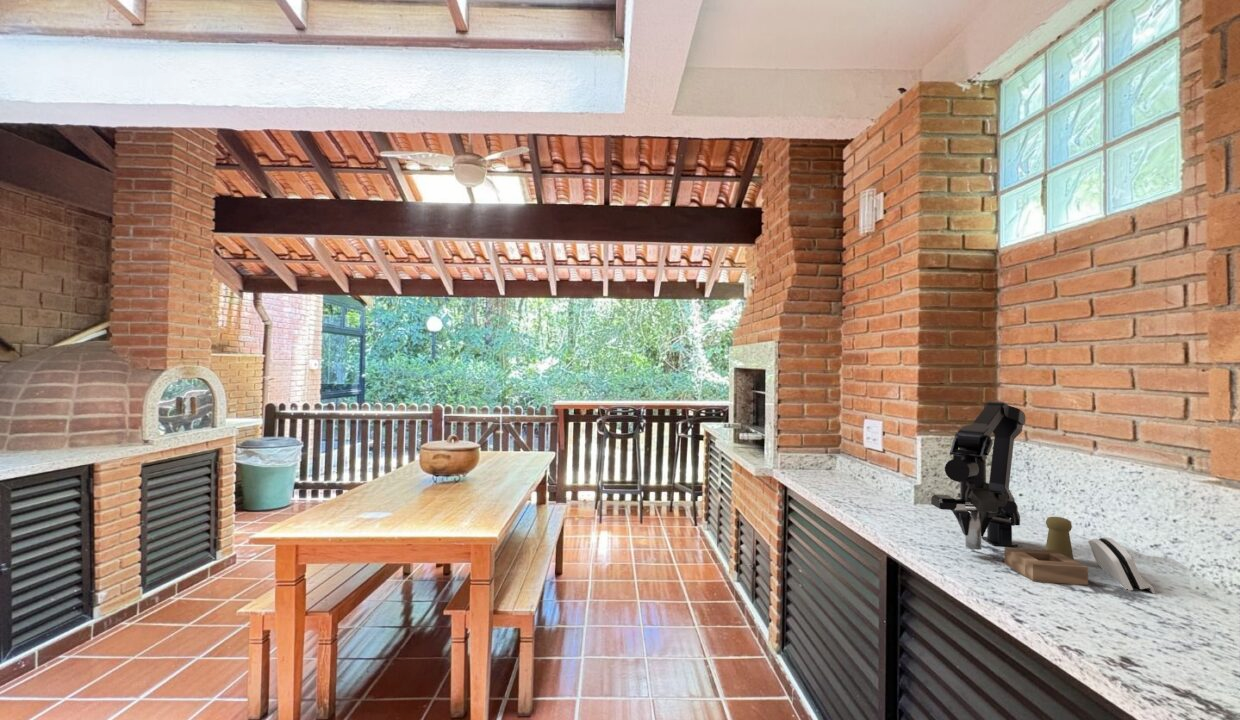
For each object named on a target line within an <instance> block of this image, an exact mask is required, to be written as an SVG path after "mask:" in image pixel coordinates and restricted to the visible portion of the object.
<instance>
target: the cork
mask: <svg viewBox="0 0 1240 720" xmlns="http://www.w3.org/2000/svg"><path fill="white" fill-rule="evenodd" d="M1045 524H1046V527H1047V529H1048V530H1047V531H1048V532H1047V537H1046V544H1045V549H1044V550H1055V551H1057V552H1059V553H1061V554H1063V555H1065V556H1067V557H1069V558H1070V559H1072V560H1074V561H1075V559H1074V554H1073V546H1072V541H1071V536H1070V532H1071V531H1072V528H1073V525H1072V522H1071V521H1070V520H1069V519H1067V518H1064V517H1062V516H1048V517H1047V518H1046V519H1045Z"/></svg>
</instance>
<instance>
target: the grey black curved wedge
mask: <svg viewBox="0 0 1240 720" xmlns="http://www.w3.org/2000/svg"><path fill="white" fill-rule="evenodd" d="M1088 544H1089V547H1090V549H1091V551H1092V552H1091V553H1092V554H1093V556H1094V559H1095V562H1096V563H1097V565H1099V566H1100V567H1101V568H1102V571H1104V572H1105V573H1106V572H1107V573H1108V574H1109V577H1111V579H1112V580H1114V579H1115V580H1116V581H1115V580H1114V581H1115V582H1117V583H1118V585H1120V584H1121V585H1122V586H1123V587H1122V586H1121V585H1120V586H1121V587H1122V588H1124V590H1126V589H1129V590H1128V591H1134V589H1135V587H1136V588H1138V589H1140V590H1144V589H1147V590H1148V591H1149V592H1150V591H1151V593H1152V594H1153V593H1156V590H1155V589H1154V587H1153V585H1151V584H1150V583H1149V582H1148V581H1146V580H1145V579H1144V578H1143V577H1142V575H1141V574H1140V571H1139V569H1138V567H1137V566H1136V564H1135V561H1134V559H1133V558H1132V556H1131V554H1129V552H1128V551H1127V550H1126V549H1125V548H1124V547H1123V546H1122V545H1121V544H1120V543H1118V541H1116V540H1115V539H1113V538H1112V537H1099V539H1098V538H1093V539H1090V540H1088ZM1099 566H1098V567H1099ZM1100 567H1099V568H1100ZM1101 568H1100V569H1101ZM1107 573H1106V574H1107ZM1108 574H1107V575H1108Z"/></svg>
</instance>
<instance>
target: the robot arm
mask: <svg viewBox="0 0 1240 720" xmlns="http://www.w3.org/2000/svg"><path fill="white" fill-rule="evenodd" d="M1026 419H1027V418H1026V413H1025V412H1024V411H1022V409H1020V408H1018V407H1014V406H1013V405H1009V404H1008V403H1006V402H1004V401H1003V402H1002V401H988V402H985V403H984V406H983V409H982V410H981V411H980V413H979V414H978V415H977V417H976V418H975V419H974V420H973V422H972V423H971V424H968V425H967V424H966V425H964V426H962V427H961V428H959V429H958V430H957V432H956V433H955V434H954V437H953V441H952V444H951V448H950V451H949V454H950V455H951V456H953V457H952V459H950V460H947V462H946V463H945V466H944V472H945V474H946V476H947V477H948V478H949V479H950V480H952V481H954V482H958V483H959V484H960V485H959V487H960V490H959V491H960V492H959V493H957V497H958V498H954V497H953V496H951V495H949V494H933V495H932V496H931V498H930V499H931V500H930V504H931V505H932V506H934V507H936V508H938V509H939V510H944V511H945V510H949V511H951V512H952V513H953V515H954V516H955V518H956V521H957V522H958V526H959V527H960V529H961V531H962V534H963V535H964V536H965V537H966V536H967V533H968V527H967V515H968V513H969V512H968V511H966V510H965V508H966V507H967V508H976V509H977V510H978V511H981V540H984V541H985V542H986V543H989V544H990V545H993V546H1000V547H1016V548H1017V547H1018V546H1019V545H1018V544H1017V543H1016V542H1014V541H1013V527H1015V526H1021V514H1020V512H1019V509H1018V504H1017V503H1016V500H1015V497H1014V495H1013V494H1012V492H1011V490H1010V482H1011V481H1010V480H1011V472H1012V471H1011V470H1012V462H1013V451H1014V443H1015V439H1017V437H1018V436H1019V435H1020V434H1021V433H1022V432H1023V427H1024V425H1026ZM992 434H993V435H994V437H993V440H992V437H991V435H992ZM992 446H993V448H992ZM991 449H992V455H991V456H992V457H991V462H990V464H991V465H990V473H989V481H988V482H987V459H988V457H987V456H989V455H990V452H991ZM986 532H987V534H986V535H987V536H984V535H985V533H986Z"/></svg>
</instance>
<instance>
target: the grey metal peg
mask: <svg viewBox="0 0 1240 720" xmlns="http://www.w3.org/2000/svg"><path fill="white" fill-rule="evenodd" d="M965 510H966V511H968V512H969V513H968V515H967V527H968V533H967V536H965V547H966V548H968V549H971V550H978V551H980V550H982V536H981V511H978V510H977V509H976V508H975V507H965Z"/></svg>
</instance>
